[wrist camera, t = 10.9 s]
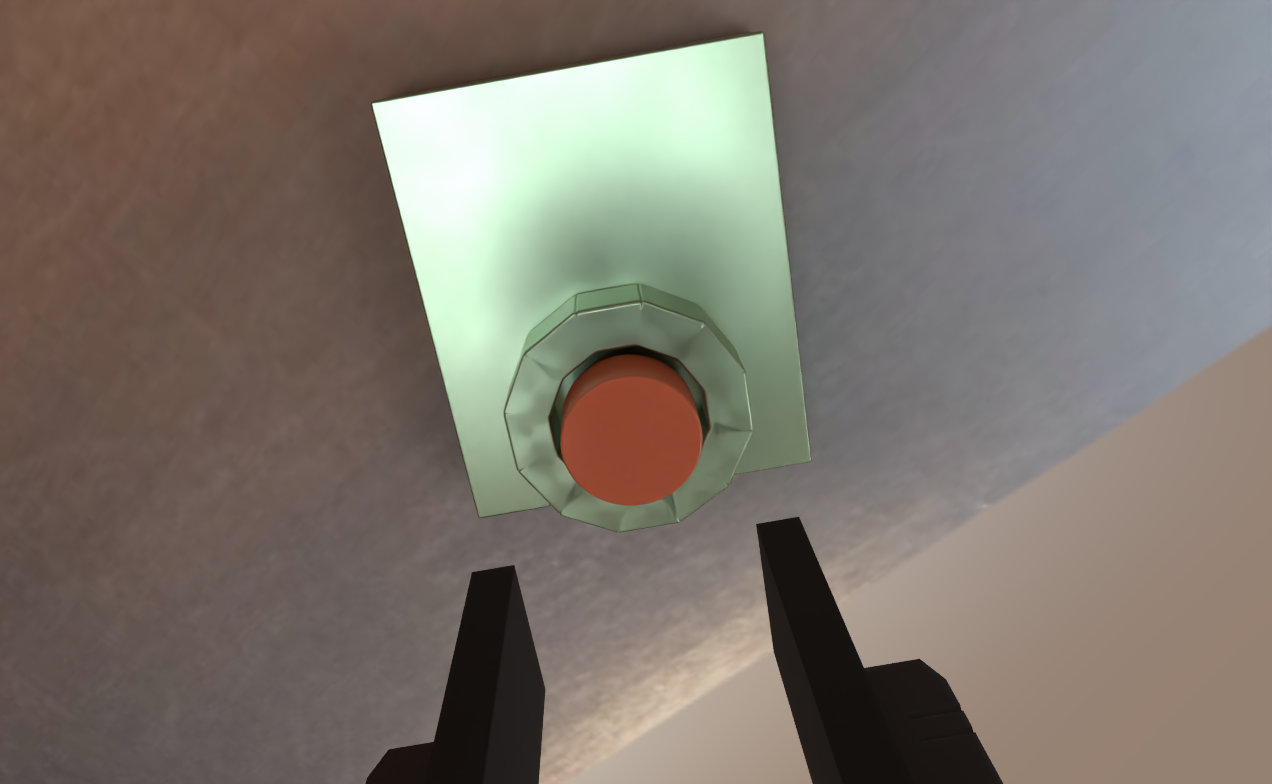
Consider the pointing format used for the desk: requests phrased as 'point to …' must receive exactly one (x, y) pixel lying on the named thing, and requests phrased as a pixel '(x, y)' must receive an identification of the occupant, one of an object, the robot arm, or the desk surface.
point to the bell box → (603, 260)
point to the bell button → (630, 430)
